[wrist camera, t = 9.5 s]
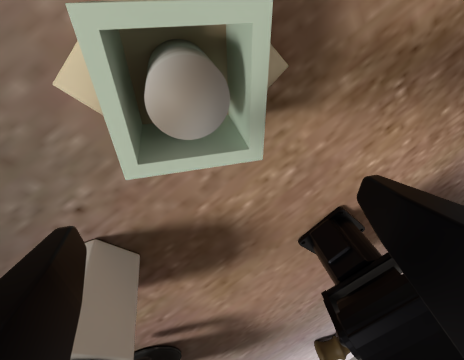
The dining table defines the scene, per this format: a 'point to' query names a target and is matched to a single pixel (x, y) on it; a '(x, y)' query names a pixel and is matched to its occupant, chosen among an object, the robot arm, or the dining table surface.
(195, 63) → the knob on square plate
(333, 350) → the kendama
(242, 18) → the sleeve
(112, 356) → the jar
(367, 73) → the dining table surface
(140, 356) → the milk frother
